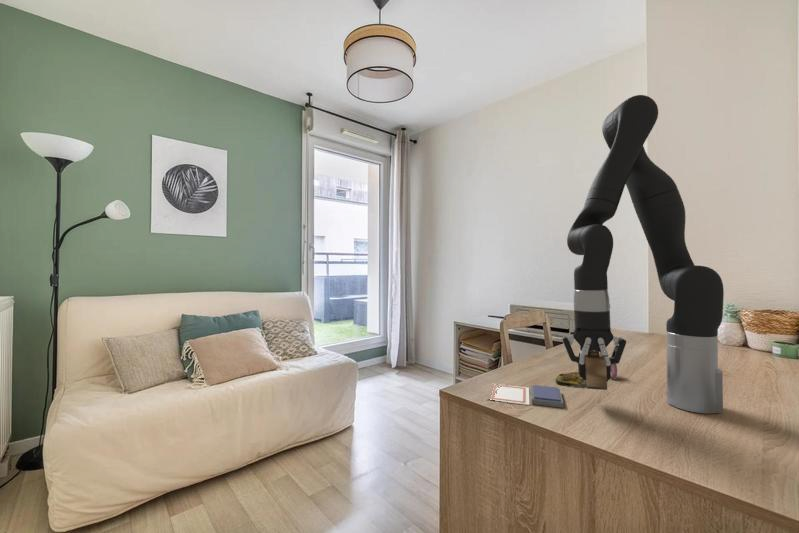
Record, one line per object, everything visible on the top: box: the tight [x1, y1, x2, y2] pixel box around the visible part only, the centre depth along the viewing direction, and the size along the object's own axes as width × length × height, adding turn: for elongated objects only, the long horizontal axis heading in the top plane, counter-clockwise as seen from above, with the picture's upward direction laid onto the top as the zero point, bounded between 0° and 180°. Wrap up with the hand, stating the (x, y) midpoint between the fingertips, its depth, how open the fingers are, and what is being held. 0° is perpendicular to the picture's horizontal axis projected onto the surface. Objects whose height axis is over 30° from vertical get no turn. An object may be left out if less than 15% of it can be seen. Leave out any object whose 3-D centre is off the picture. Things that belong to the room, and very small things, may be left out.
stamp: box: [583, 351, 608, 391], centre depth 82 cm, size 4×6×8 cm, turn 161°
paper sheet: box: [489, 383, 530, 406], centre depth 89 cm, size 10×12×1 cm
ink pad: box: [530, 384, 565, 409], centre depth 86 cm, size 7×10×2 cm
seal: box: [555, 371, 587, 388], centre depth 99 cm, size 9×5×15 cm
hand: (594, 379), depth 82 cm, fingers closed on stamp, 4 cm apart
